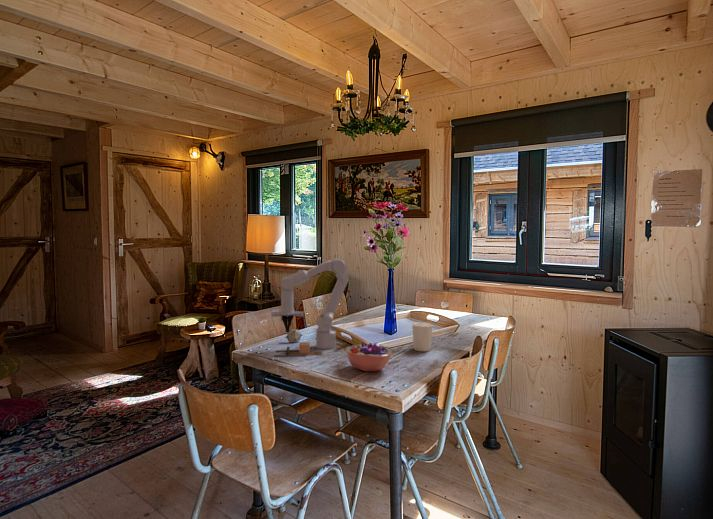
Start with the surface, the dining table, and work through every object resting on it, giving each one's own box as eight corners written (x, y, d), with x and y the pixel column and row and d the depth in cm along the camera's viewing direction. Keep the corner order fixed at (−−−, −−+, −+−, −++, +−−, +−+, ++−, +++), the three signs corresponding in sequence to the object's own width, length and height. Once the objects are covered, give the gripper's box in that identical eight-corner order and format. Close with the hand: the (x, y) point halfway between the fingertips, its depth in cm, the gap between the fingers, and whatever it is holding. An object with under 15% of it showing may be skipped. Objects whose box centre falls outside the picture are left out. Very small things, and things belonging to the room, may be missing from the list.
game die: (296, 351, 215) (298, 339, 209) (281, 345, 216) (282, 332, 210) (304, 339, 222) (306, 327, 215) (289, 333, 223) (291, 320, 217)
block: (309, 352, 198) (309, 342, 197) (309, 354, 193) (309, 344, 193) (299, 352, 197) (299, 342, 197) (299, 355, 193) (299, 345, 192)
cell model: (359, 360, 190) (359, 334, 189) (399, 368, 178) (400, 341, 178) (336, 370, 176) (336, 343, 175) (378, 380, 164) (378, 350, 164)
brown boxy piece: (322, 353, 199) (322, 345, 199) (322, 357, 193) (322, 349, 193) (287, 354, 198) (287, 346, 197) (286, 358, 192) (286, 350, 191)
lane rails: (306, 353, 199) (306, 349, 199) (306, 358, 191) (306, 354, 191) (276, 354, 198) (276, 350, 198) (274, 359, 190) (274, 355, 190)
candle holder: (407, 349, 207) (407, 324, 206) (419, 345, 214) (419, 321, 213) (424, 353, 200) (425, 327, 200) (436, 348, 208) (436, 324, 207)
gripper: (270, 304, 197) (271, 333, 198) (302, 304, 198) (302, 333, 199) (272, 301, 204) (272, 330, 205) (303, 301, 205) (303, 329, 206)
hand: (287, 331), depth 202 cm, fingers closed
